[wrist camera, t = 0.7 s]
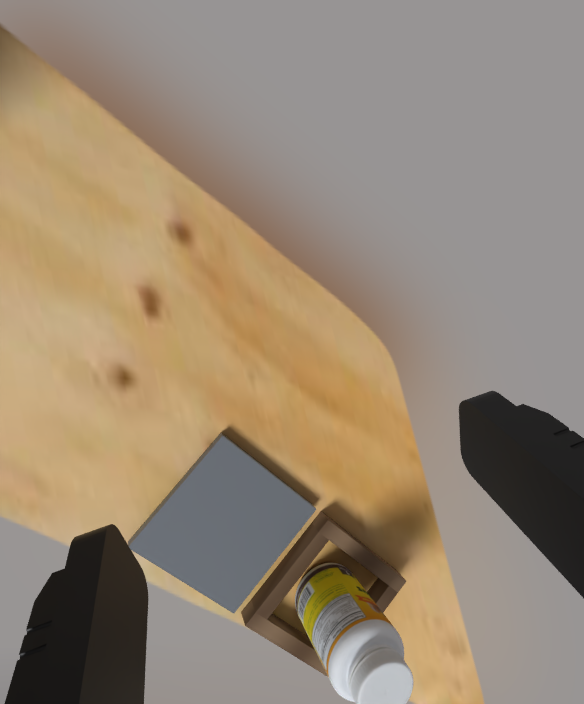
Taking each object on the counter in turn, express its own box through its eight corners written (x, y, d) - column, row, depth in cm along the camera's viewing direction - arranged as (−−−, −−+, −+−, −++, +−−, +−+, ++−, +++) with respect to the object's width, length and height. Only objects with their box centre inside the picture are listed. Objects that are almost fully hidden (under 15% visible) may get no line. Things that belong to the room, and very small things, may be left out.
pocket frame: (241, 612, 35) (245, 625, 33) (321, 511, 36) (328, 519, 34) (326, 665, 38) (333, 679, 36) (396, 570, 39) (406, 581, 37)
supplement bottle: (360, 600, 38) (433, 701, 28) (304, 633, 37) (360, 752, 27) (343, 547, 37) (412, 633, 27) (283, 579, 35) (335, 682, 26)
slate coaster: (128, 541, 31) (127, 547, 30) (220, 432, 32) (222, 435, 32) (231, 606, 34) (233, 613, 33) (312, 504, 35) (316, 509, 35)
